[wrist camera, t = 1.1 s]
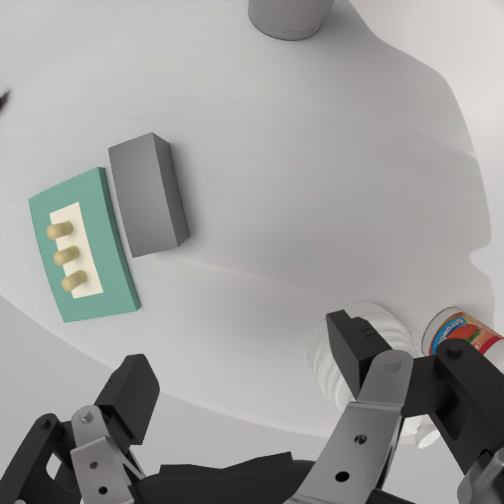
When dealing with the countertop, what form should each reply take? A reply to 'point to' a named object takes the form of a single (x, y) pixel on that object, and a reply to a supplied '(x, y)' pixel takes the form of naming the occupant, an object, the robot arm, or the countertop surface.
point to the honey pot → (333, 379)
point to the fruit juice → (464, 335)
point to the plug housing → (148, 195)
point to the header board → (83, 248)
